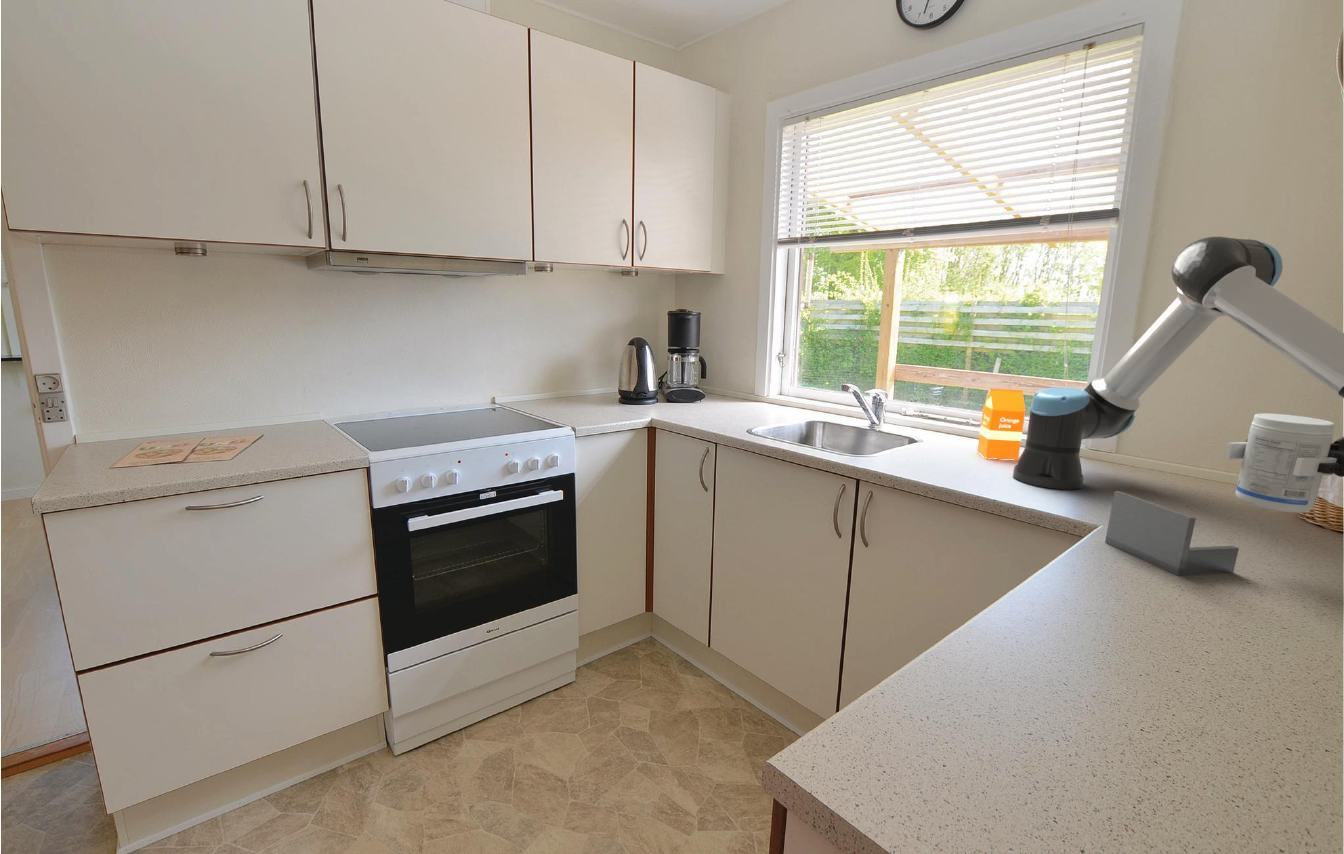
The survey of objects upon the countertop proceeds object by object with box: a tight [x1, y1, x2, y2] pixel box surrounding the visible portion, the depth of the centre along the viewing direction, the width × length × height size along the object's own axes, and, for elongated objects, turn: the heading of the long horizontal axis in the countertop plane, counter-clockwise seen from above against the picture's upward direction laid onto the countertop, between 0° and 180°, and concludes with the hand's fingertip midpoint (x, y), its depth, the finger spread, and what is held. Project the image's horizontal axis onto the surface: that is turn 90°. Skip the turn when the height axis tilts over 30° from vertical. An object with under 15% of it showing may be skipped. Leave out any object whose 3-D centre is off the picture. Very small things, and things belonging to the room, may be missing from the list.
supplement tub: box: [1234, 412, 1335, 513], centre depth 99 cm, size 10×10×15 cm
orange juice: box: [977, 388, 1026, 461], centre depth 174 cm, size 8×9×20 cm
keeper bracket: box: [1104, 490, 1240, 576], centre depth 106 cm, size 14×11×10 cm
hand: (1261, 458), depth 98 cm, fingers closed on supplement tub, 9 cm apart
